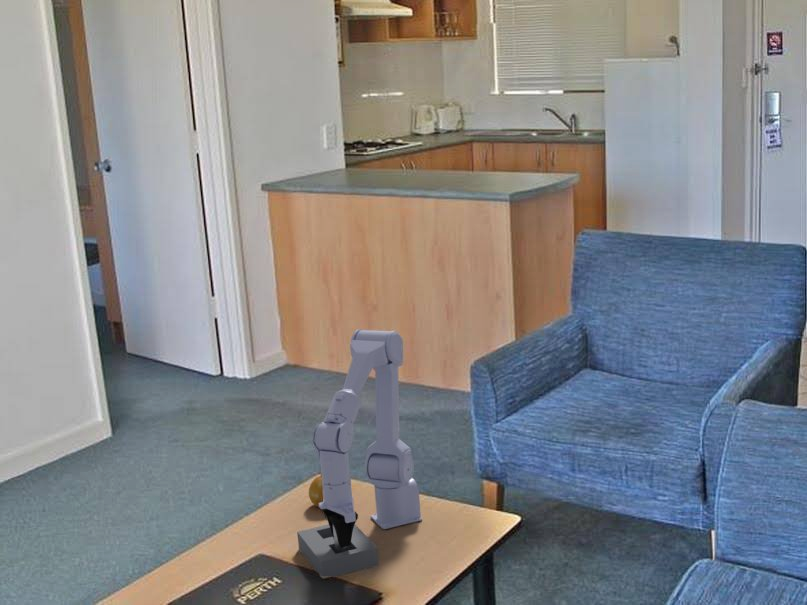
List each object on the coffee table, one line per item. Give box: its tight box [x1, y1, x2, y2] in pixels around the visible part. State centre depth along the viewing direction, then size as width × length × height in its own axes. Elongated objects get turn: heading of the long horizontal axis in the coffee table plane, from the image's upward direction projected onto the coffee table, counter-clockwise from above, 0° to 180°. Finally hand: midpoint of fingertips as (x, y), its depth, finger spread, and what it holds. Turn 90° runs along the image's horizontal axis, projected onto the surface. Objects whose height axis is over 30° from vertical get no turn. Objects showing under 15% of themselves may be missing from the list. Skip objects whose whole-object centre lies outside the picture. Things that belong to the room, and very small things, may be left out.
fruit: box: [308, 473, 323, 508], centre depth 244 cm, size 8×8×8 cm
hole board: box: [296, 523, 379, 578], centre depth 218 cm, size 12×16×4 cm
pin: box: [333, 526, 350, 554], centre depth 213 cm, size 3×3×7 cm
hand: (342, 542), depth 213 cm, fingers closed on pin, 3 cm apart
